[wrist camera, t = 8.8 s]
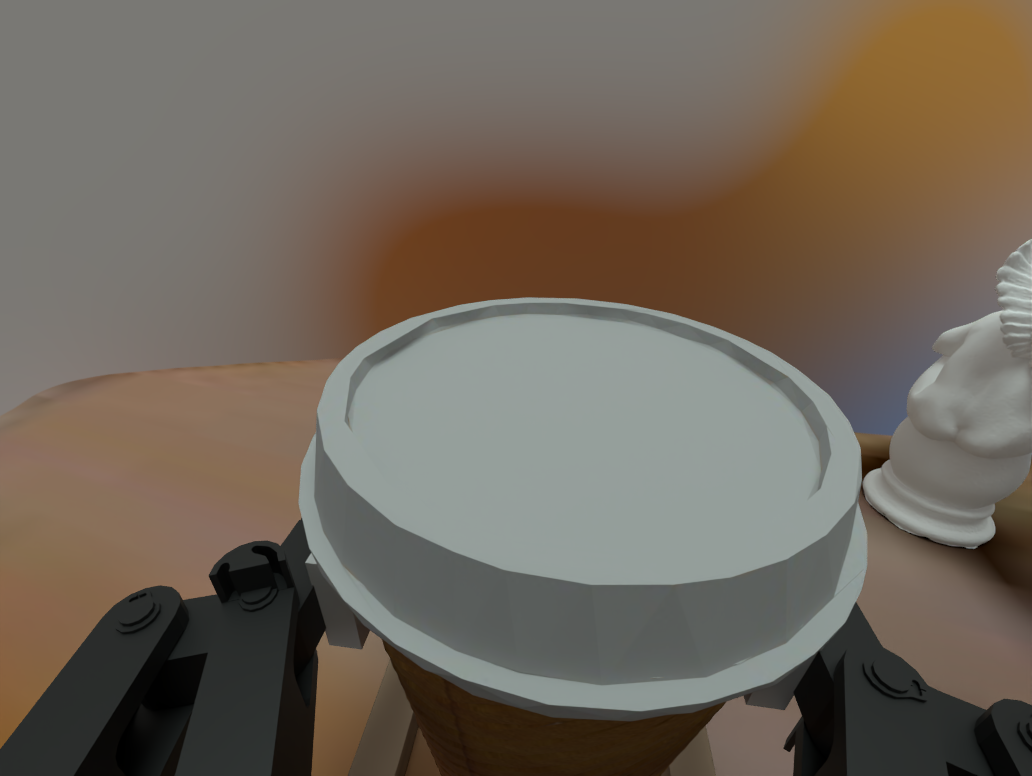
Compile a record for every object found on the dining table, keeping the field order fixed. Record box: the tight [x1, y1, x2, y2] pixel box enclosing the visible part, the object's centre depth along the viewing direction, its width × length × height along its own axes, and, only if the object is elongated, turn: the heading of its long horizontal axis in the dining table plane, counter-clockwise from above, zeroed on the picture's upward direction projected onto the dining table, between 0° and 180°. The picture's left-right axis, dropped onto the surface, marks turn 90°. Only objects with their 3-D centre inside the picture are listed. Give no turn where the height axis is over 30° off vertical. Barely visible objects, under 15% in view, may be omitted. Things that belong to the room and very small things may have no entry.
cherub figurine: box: [862, 239, 1032, 549], centre depth 31 cm, size 12×12×22 cm
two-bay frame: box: [348, 659, 716, 776], centre depth 25 cm, size 20×31×2 cm, turn 173°
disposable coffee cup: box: [299, 298, 867, 776], centre depth 11 cm, size 10×10×12 cm
